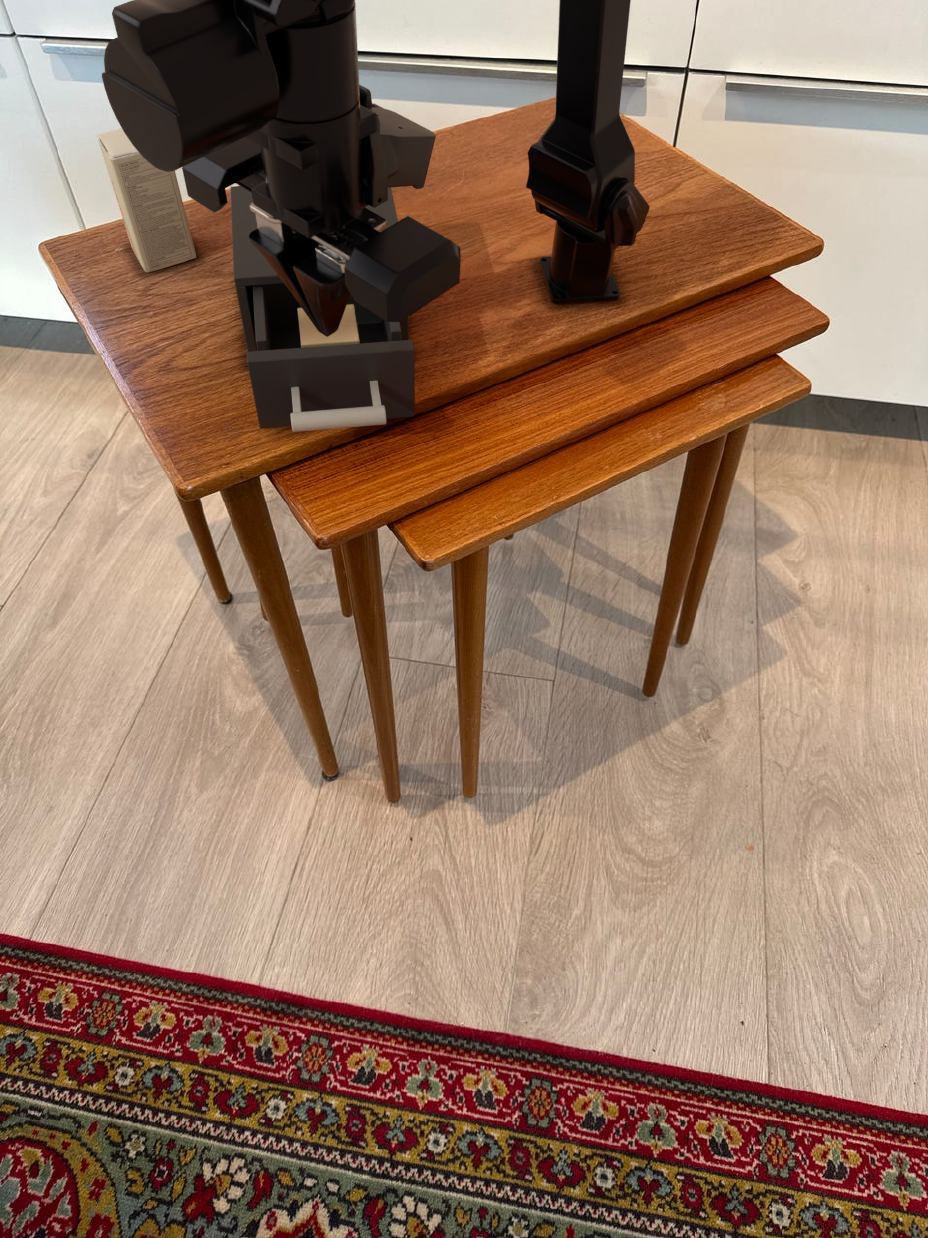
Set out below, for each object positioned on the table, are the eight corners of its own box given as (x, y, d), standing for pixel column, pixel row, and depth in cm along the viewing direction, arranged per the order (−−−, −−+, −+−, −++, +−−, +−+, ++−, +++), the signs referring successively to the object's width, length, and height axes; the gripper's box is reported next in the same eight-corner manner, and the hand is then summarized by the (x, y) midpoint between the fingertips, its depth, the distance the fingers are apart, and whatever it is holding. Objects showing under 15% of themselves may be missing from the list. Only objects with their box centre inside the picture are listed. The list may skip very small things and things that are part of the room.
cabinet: (408, 353, 80) (407, 267, 73) (250, 365, 78) (233, 278, 71) (391, 264, 87) (389, 178, 80) (245, 273, 85) (230, 185, 78)
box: (182, 234, 88) (155, 118, 79) (198, 259, 86) (172, 142, 77) (128, 249, 86) (94, 131, 77) (143, 274, 84) (109, 157, 75)
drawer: (421, 454, 72) (422, 388, 66) (262, 468, 71) (248, 401, 65) (397, 324, 81) (396, 256, 75) (254, 334, 79) (242, 265, 73)
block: (362, 385, 75) (359, 340, 71) (306, 389, 74) (300, 344, 70) (357, 348, 77) (354, 303, 73) (303, 352, 76) (297, 307, 73)
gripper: (532, 108, 50) (508, 339, 63) (298, -6, 57) (319, 225, 69) (391, 188, 45) (396, 421, 58) (152, 53, 52) (203, 291, 65)
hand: (328, 331), depth 63 cm, fingers closed
